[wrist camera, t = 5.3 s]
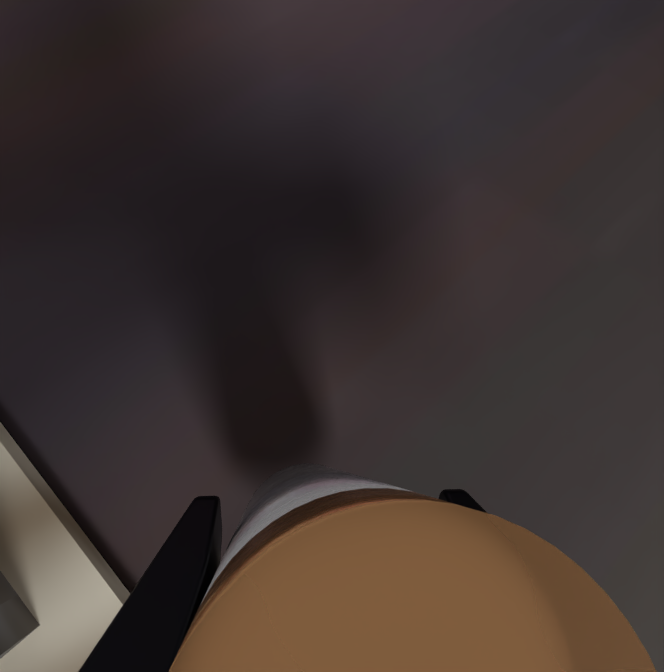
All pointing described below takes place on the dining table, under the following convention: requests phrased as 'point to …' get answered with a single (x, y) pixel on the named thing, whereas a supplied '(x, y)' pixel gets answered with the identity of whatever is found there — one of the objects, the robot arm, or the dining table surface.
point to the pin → (396, 589)
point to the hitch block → (47, 575)
